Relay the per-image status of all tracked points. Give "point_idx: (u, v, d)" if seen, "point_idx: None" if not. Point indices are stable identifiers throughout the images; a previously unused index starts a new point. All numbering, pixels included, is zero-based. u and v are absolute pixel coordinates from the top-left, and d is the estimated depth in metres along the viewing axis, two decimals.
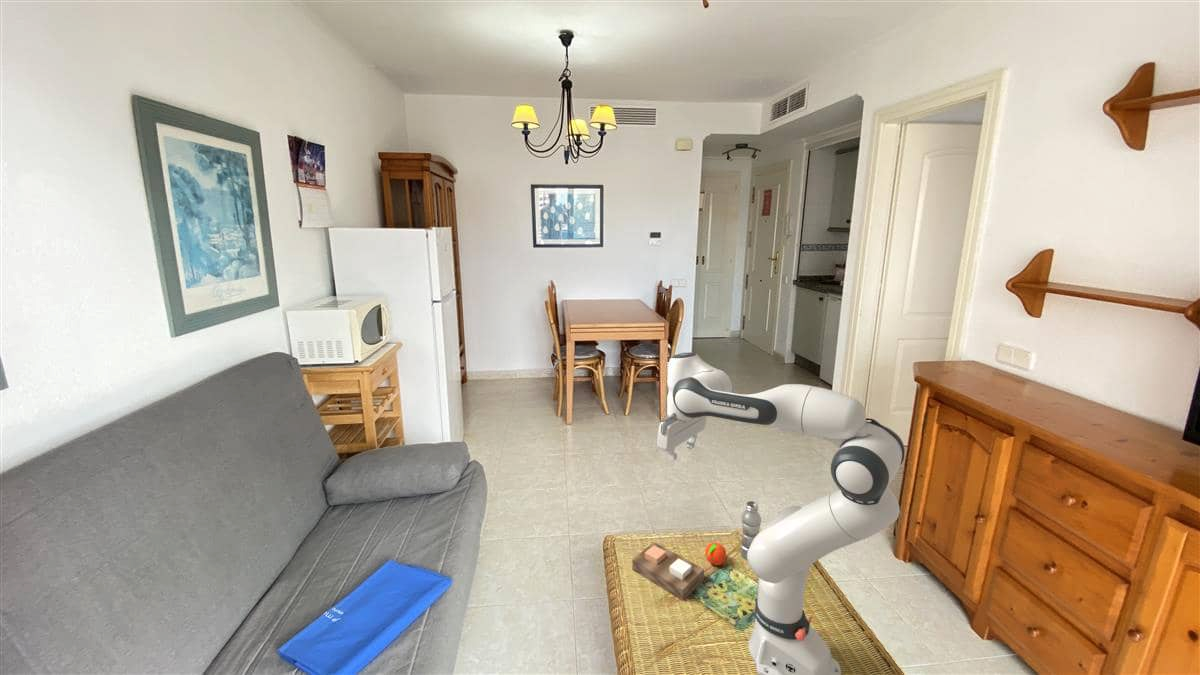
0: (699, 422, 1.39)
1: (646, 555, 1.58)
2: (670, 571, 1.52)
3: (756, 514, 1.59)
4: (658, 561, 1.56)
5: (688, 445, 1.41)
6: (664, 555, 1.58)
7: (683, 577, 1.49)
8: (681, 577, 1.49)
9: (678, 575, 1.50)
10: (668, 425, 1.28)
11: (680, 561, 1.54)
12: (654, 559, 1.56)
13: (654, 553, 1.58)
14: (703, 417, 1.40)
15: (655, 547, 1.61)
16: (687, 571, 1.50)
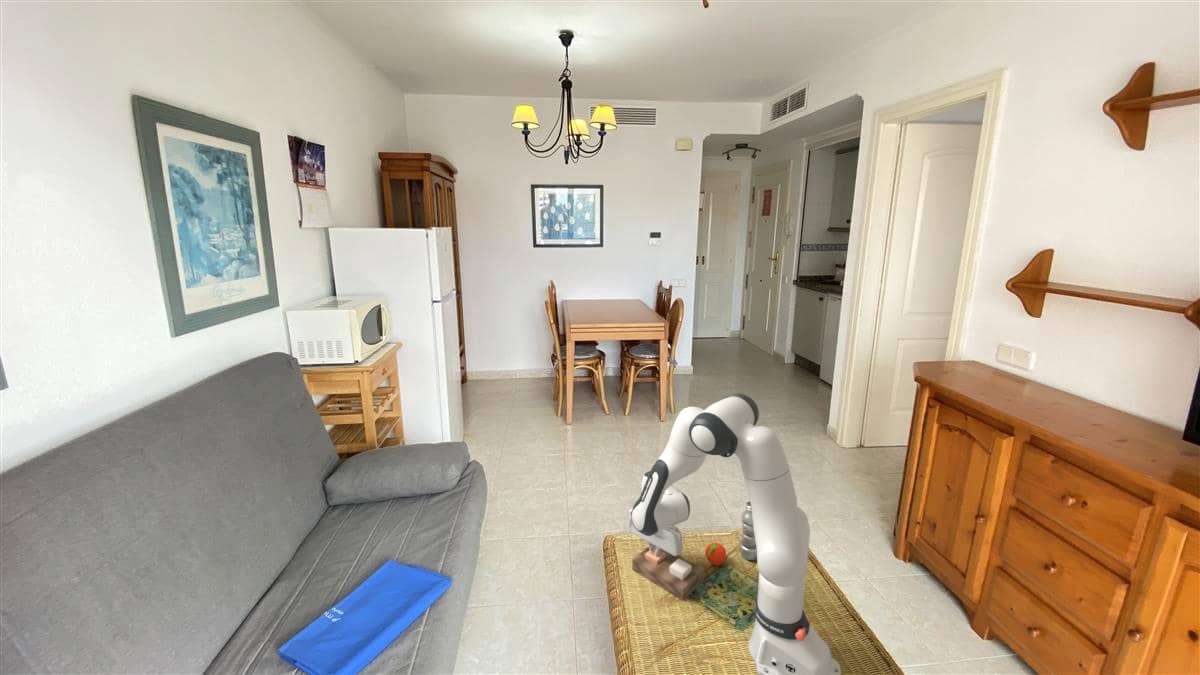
0: None
1: (646, 557, 1.58)
2: (670, 571, 1.52)
3: None
4: (658, 563, 1.56)
5: None
6: (664, 557, 1.58)
7: (683, 577, 1.49)
8: (681, 577, 1.49)
9: (678, 575, 1.50)
10: None
11: (680, 561, 1.54)
12: (654, 561, 1.56)
13: None
14: None
15: None
16: (687, 571, 1.50)
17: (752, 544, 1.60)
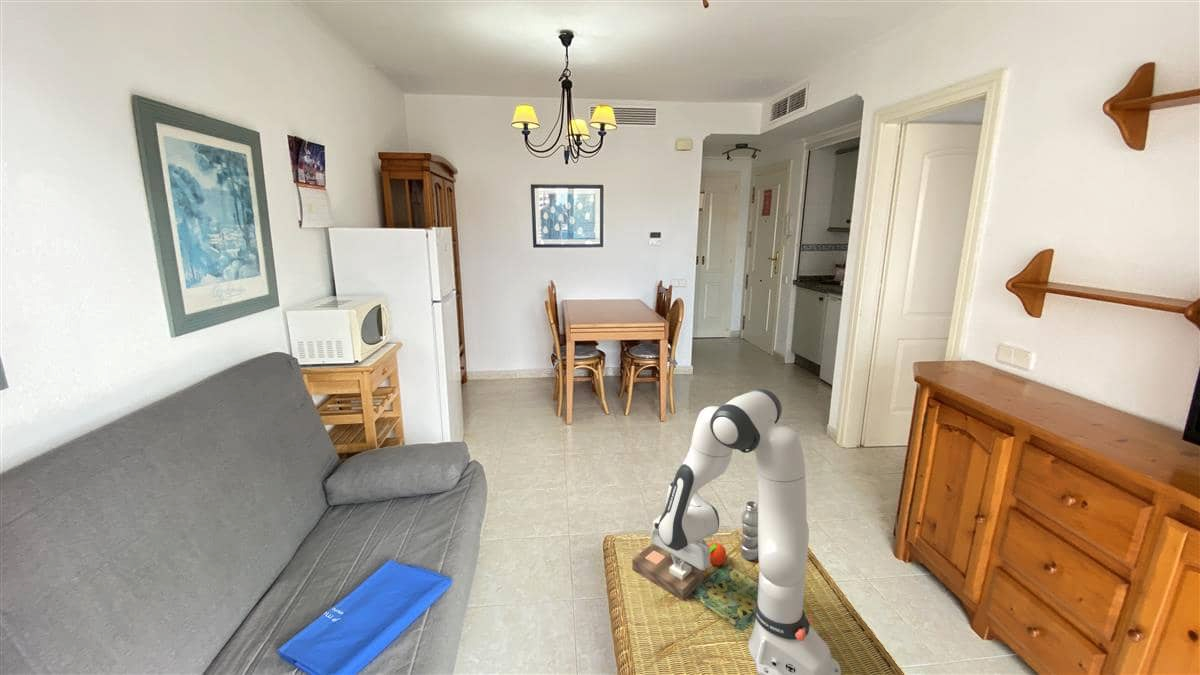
0: None
1: None
2: (670, 572, 1.52)
3: (756, 514, 1.59)
4: None
5: None
6: None
7: (683, 578, 1.49)
8: (681, 578, 1.49)
9: (678, 576, 1.50)
10: None
11: None
12: None
13: (654, 558, 1.58)
14: None
15: (655, 552, 1.61)
16: (687, 572, 1.50)
17: (752, 544, 1.60)
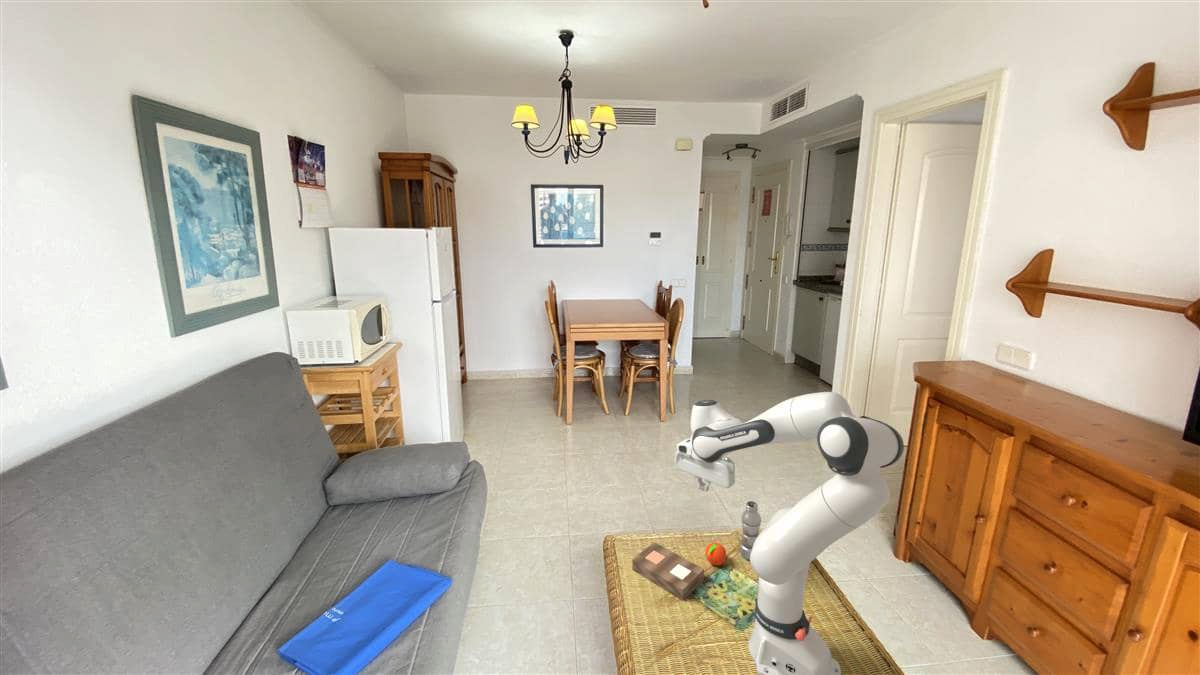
0: None
1: None
2: None
3: (756, 514, 1.59)
4: None
5: None
6: None
7: None
8: None
9: None
10: None
11: (680, 566, 1.54)
12: None
13: (654, 558, 1.58)
14: None
15: (655, 552, 1.61)
16: None
17: (752, 544, 1.60)
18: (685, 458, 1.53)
